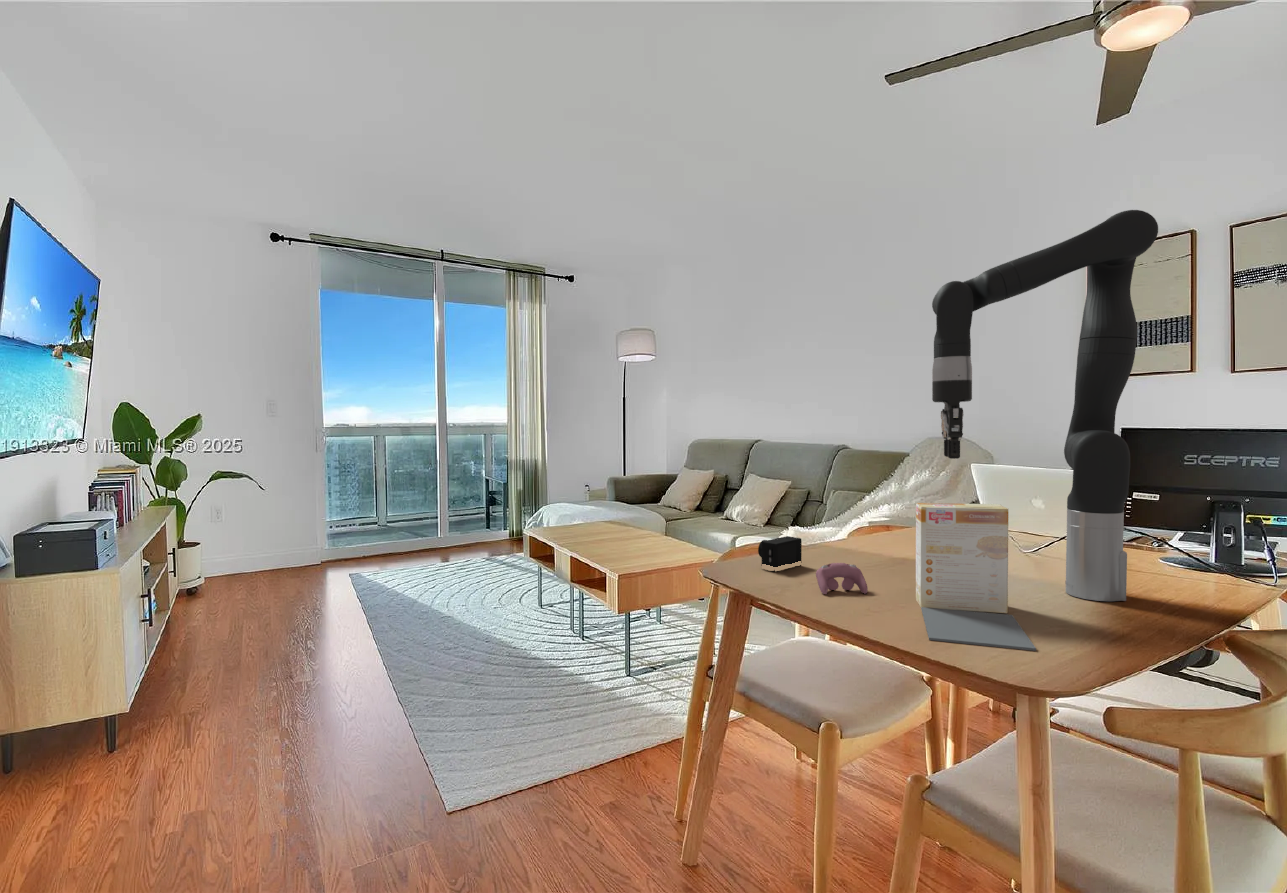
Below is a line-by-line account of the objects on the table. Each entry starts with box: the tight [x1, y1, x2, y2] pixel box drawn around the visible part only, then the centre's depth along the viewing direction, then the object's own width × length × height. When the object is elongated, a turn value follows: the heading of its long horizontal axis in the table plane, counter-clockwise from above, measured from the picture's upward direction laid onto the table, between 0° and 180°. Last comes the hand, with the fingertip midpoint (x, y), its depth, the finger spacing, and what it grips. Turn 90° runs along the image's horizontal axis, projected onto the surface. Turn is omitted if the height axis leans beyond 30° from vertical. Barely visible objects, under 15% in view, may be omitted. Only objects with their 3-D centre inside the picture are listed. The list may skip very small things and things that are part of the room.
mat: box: [920, 607, 1037, 652], centre depth 107 cm, size 15×18×1 cm
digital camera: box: [757, 535, 803, 567], centre depth 152 cm, size 10×5×7 cm, turn 131°
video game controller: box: [815, 562, 868, 595], centre depth 130 cm, size 10×5×7 cm, turn 92°
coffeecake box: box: [915, 502, 1009, 615], centre depth 119 cm, size 15×7×20 cm, turn 74°
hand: (951, 457), depth 132 cm, fingers open, 7 cm apart
